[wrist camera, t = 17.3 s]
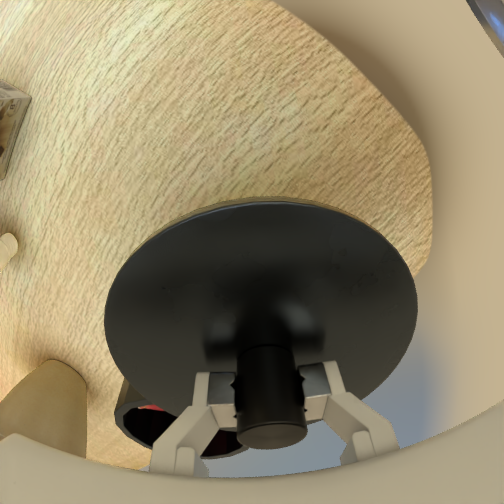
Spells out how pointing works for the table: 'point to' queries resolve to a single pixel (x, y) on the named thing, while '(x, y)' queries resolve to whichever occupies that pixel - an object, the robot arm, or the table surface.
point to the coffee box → (10, 120)
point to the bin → (163, 425)
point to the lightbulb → (7, 249)
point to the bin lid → (260, 309)
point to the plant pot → (48, 408)
